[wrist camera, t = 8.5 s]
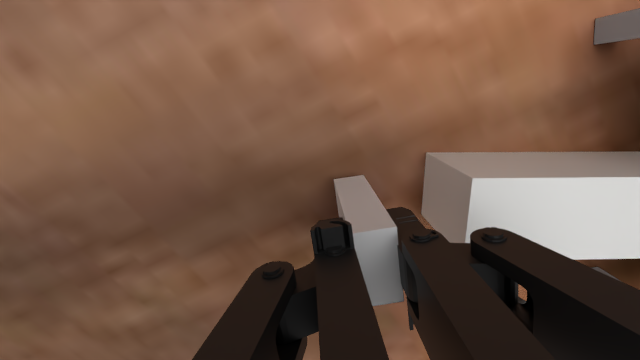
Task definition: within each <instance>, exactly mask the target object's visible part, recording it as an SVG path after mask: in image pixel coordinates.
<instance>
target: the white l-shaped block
mask: <svg viewBox="0 0 640 360" xmlns="http://www.w3.org/2000/svg"><path fill="white" fill-rule="evenodd" d="M421 215H422V216H423V217H424V218H425V219H426V220H427V221H428V223H429V224H430V225H431V226H432V227H433V228H434V229H435V230H436V231H438V232H439V233H441V234H442V235H443V236H444V237H445V238H446V239H447V240H448V241H449V242H450V243H470V234H471V233H472V232H473V231H475V230H478V229H482V228H485V227H490V228H491V227H496V228H500V229H505V230H508V231H511V232H513V233H516V234H518V235H520V236H522V237H524V238H527V239H529V240H531V241H533V242H535V243H538V244H540V245H542V246H544V247H546V248H549V249H551V250H553V251H555V252H557V253H559V254H562V255H564V256H566V257H568V258H570V259H573V260H578V259H640V151H632V152H437V153H426V161H425V173H424V186H423V198H422V211H421Z"/></svg>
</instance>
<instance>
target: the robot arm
mask: <svg viewBox="0 0 640 360" xmlns="http://www.w3.org/2000/svg"><path fill="white" fill-rule="evenodd" d="M334 186H335V193H336V200H337V207H338V214H339V218H333V219H327V220H320V221H318V222H317V224H316V225H314V226H313V227H312V228H311V231H310V232H311V238H312V244H313V249H314V257H315V259H314V260H313V261H312V262H311V263H310V264H308V265H306V266H305V267H302V268H300V269H297V270H294V267H293V266H292V264H290V263H288V262H282V261H277V262H269V263H266V264H264V265H262V266H260V267H259V268H257V269H256V270H255V271H254V272H253V273H252V274H251V275H250V277H249V278H248V280H247V281H246V283H245V284H244V286H243V287H242V288H241V290H240V291H239V293H238V294H237V296H236V297H235V299H234V300H233V301H232V303H231V304H230V306H229V307H228V309H227V310H226V312H225V313H224V314H223V316H222V317H221V319H220V320H219V322H218V323H217V325H216V326H215V327H214V329H213V330H212V332H211V333H210V335H209V336H208V338H207V339H206V340H205V342H204V343H203V345H202V346H201V348H200V349H199V351H198V352H197V353H196V355H195V356H194V358H193V359H192V360H302V359H303V356H304V353H305V349H306V346H307V336H308V335H311V334H313V333H316V332H318V331H319V344H320V360H389V358H388V355H387V352H386V348H385V345H384V342H383V339H382V335H381V332H380V329H379V326H378V322H377V319H376V316H375V313H374V309H373V306H376V305H383V304H389V303H396V302H402V301H404V296H403V289H404V291H405V293H406V295H407V305H408V316H409V326H410V330H413V324H415V327H416V329H417V331H418V333H419V335H420V338H421V340H422V342H423V344H424V346H425V349H426V351H427V353H428V355H429V358H430V360H640V290H638V289H636V288H634V287H632V286H630V285H627V284H625V283H623V282H621V281H619V280H616V279H614V278H612V277H610V276H608V275H605V274H603V273H601V272H599V271H597V270H595V269H592V268H590V267H588V266H586V265H584V264H581V263H579V262H577V261H575V260H573V259H570V258H568V257H566V256H564V255H562V254H559V253H557V252H555V251H553V250H551V249H549V248H546V247H544V246H542V245H540V244H538V243H535V242H533V241H531V240H529V239H527V238H524V237H522V236H520V235H518V234H516V233H513V232H511V231H508V230H505V229H500V228H496V227H491V228H490V227H485V228H482V229H478V230H475V231H473V232H472V233H471V234H470V243H450V242H449V241H448V240H447V239H446V238H445V237H444V236H443V235H442V234H441V233H439V232H438V231H435V230H432V229H426V228H425V227H424V226H423V225H422V224H421V222H420V221H418V219H417V218H416V216H415V215H414V214H413V213H412V212H411V210H408V209H406V208H403V207H398V208H392V209H385V208H384V206H383V204H382V203H381V201H380V200H379V198H378V197H377V195H376V194H375V192H374V190H373V189H372V187H371V186H370V184H369V183H368V181H367V180H366V178H365V176H364V175H359V176H352V177H346V178H339V179H334ZM518 284H520V285H521V286H523V287H524V288H525V289H526V290H527V301H525V300H523V299H521V298H520V297H518Z"/></svg>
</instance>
